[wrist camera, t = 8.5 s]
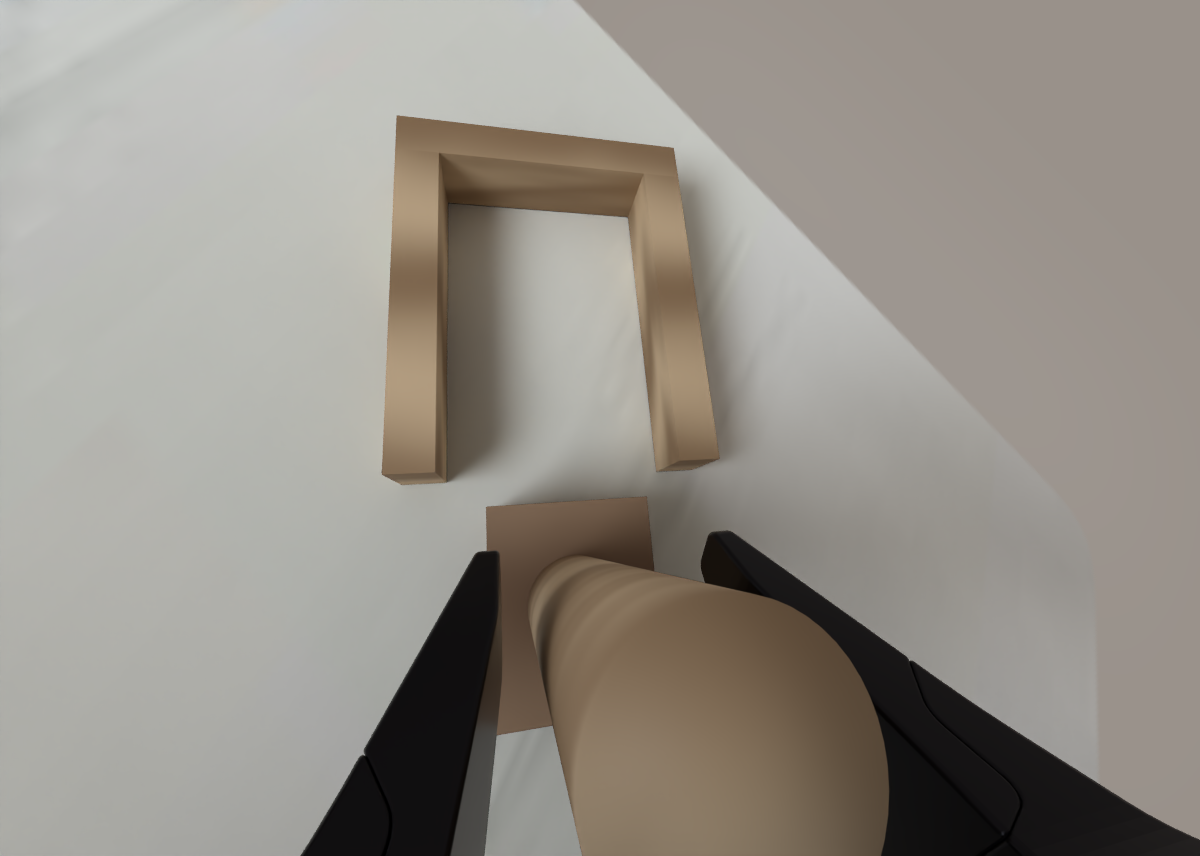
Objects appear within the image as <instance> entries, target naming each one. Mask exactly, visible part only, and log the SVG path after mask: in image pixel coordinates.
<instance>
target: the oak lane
mask: <svg viewBox="0 0 1200 856" xmlns="http://www.w3.org/2000/svg"><path fill="white" fill-rule="evenodd" d="M448 203H459V204H471V205H484V206H497V207H509V208H522V209H534V210H547V211H560V212H572V213H585V214H598V215H610V216H623V217H628V221H629V230H630V239H631V248H632V257H633V266H634V275H635V284H636V293H637V302H638V311H639V320H640V329H641V338H642V347H643V356H644V364H645V373H646V382H647V391H648V400H649V409H650V418H651V427H652V436H653V445H654V454H655V463H656V472H658V471H677V470H692V469H694V468H697V467H700V466H702V465H705V464H707V463H710V462H712V461H715V460H718V459H720V458H719V451H718V444H717V438H716V431H715V424H714V417H713V411H712V404H711V397H710V390H709V383H708V377H707V370H706V363H705V356H704V350H703V343H702V336H701V329H700V323H699V316H698V309H697V302H696V296H695V289H694V282H693V275H692V269H691V262H690V255H689V248H688V241H687V235H686V228H685V221H684V214H683V208H682V201H681V194H680V187H679V181H678V174H677V167H676V160H675V154H674V148H670V147H661V146H653V145H644V144H636V143H627V142H619V141H610V140H602V139H593V138H585V137H576V136H568V135H559V134H551V133H542V132H534V131H525V130H516V129H508V128H499V127H491V126H482V125H474V124H465V123H457V122H448V121H440V120H431V119H423V118H414V117H406V116H397V122H396V146H395V170H394V194H393V218H392V243H391V267H390V291H389V315H388V339H387V363H386V388H385V412H384V436H383V460H382V475H383V476H385V477H387V478H389V479H391V480H393V481H395V482H397V483H399V484H401V485H410V484H429V483H447V301H448Z"/></svg>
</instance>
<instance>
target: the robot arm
mask: <svg viewBox="0 0 1200 856" xmlns="http://www.w3.org/2000/svg"><path fill="white" fill-rule="evenodd" d="M701 570H702V574H703V577H704V581H705V583H707V584H712V585H716V586H720V587H725V588H729V589H734V590H738V591H742V592H747V593H751V594H756V595H759V596H763V597H767V598H771V599H774V600H776V601H779V602H781V603H784V604H786V605H788V606H791V607H792V608H794V609H796V610H797V611H799V612H801V613H802V614H804V615H806V616H807V617H809V618H810V619H811V620H812V621H814V622H815V623H816V624H817V625H819V626H820V627H821V628H822V629H823V630H824V631H825V632H826V633H827V634H828V635H829V636H830V637H831V638H832V639H833V640H834V641H835V642H836V643H837V644H838V645H839V646H840V648H841V649H842V650H843V652H844V653H845V654H846V655H847V657H848V658H849V659H850V661H851V662H852V664H853V666H854V667H855V669H856V671H857V672H858V674H859V675H860V677H861V679H862V681H863V683H864V685H865V687H866V689H867V691H868V693H869V696H870V698H871V700H872V703H873V706H874V709H875V711H876V714H877V717H878V720H879V724H880V728H881V732H882V736H883V740H884V745H885V751H886V758H887V764H888V780H889V805H888V819H887V827H886V834H885V841H884V845H883V849H882V853H881V856H1200V840H1199V839H1197V838H1194V837H1192V836H1190V835H1188V834H1186V833H1183V832H1181V831H1179V830H1177V829H1175V828H1173V827H1171V826H1169V825H1167V824H1165V823H1163V822H1161V821H1160V820H1158V819H1156V818H1154V817H1152V816H1150V815H1148V814H1146V813H1145V812H1143V811H1141V810H1140V809H1138V808H1136V807H1135V806H1133V805H1132V804H1130V803H1128V802H1126V801H1125V800H1123V799H1122V798H1120V797H1119V796H1117V795H1116V794H1114V793H1112V792H1111V791H1109V790H1108V789H1106V788H1105V787H1103V786H1101V785H1100V784H1098V783H1097V782H1095V781H1094V780H1092V779H1090V778H1089V777H1087V776H1086V775H1084V774H1083V773H1081V772H1079V771H1078V770H1076V769H1075V768H1073V767H1072V766H1070V765H1068V764H1067V763H1065V762H1064V761H1062V760H1061V759H1059V758H1057V757H1056V756H1054V755H1053V754H1051V753H1049V752H1048V751H1046V750H1045V749H1043V748H1042V747H1040V746H1038V745H1037V744H1035V743H1034V742H1032V741H1031V740H1029V739H1027V738H1026V737H1024V736H1023V735H1021V734H1020V733H1018V732H1016V731H1015V730H1013V729H1012V728H1010V727H1009V726H1007V725H1006V724H1004V723H1003V722H1001V721H1000V720H998V719H997V718H995V717H994V716H992V715H990V714H989V713H987V712H986V711H984V710H983V709H981V708H980V707H978V706H977V705H975V704H974V703H972V702H971V701H969V700H968V699H966V698H965V697H964V696H962V695H961V694H959V693H958V692H956V691H955V690H953V689H952V688H951V687H949V686H948V685H946V684H945V683H943V682H942V681H940V680H939V679H938V678H936V677H935V676H933V675H932V674H930V673H929V672H928V671H926V670H925V669H923V668H922V667H921V666H919V665H918V664H916V663H915V662H914V661H909V659H908V658H907V657H906V656H905V655H904V654H902V653H901V652H899V651H898V650H897V649H895V648H894V647H892V646H891V645H890V644H888V643H887V642H885V641H884V640H883V639H881V638H880V637H878V636H877V635H876V634H874V633H873V632H871V631H870V630H869V629H867V628H866V627H864V626H863V625H862V624H860V623H859V622H857V621H856V620H855V619H853V618H852V617H850V616H849V615H848V614H846V613H845V612H843V611H842V610H841V609H839V608H838V607H836V606H835V605H834V604H832V603H831V602H829V601H828V600H827V599H825V598H824V597H822V596H821V595H820V594H818V593H817V592H815V591H814V590H813V589H811V588H810V587H808V586H807V585H806V584H804V583H803V582H802V581H800V580H799V579H797V578H796V577H795V576H793V575H792V574H790V573H789V572H788V571H786V570H785V569H783V568H782V567H781V566H779V565H778V564H776V563H775V562H774V561H772V560H771V559H769V558H768V557H767V556H765V555H764V554H762V553H761V552H760V551H758V550H757V549H755V548H754V547H753V546H751V545H750V544H748V543H747V542H746V541H744V540H743V539H741V538H740V537H739V536H737V535H736V534H734V533H733V532H731V531H716V532H711V533H710V534H709V535H708V538H707V541H706V545H705V548H704V552H703V555H702V559H701ZM501 685H502V602H501V569H500V553H499V552H498V551H497V550H494V551H482V552H477V553H476V554H475V555H474V557H473V558H472V560H471V562H470V564H469V565H468V567H467V569H466V571H465V572H464V574H463V576H462V578H461V579H460V581H459V583H458V585H457V586H456V588H455V590H454V592H453V594H452V595H451V597H450V599H449V601H448V602H447V604H446V606H445V608H444V609H443V611H442V613H441V615H440V616H439V618H438V620H437V622H436V623H435V625H434V627H433V629H432V630H431V632H430V634H429V636H428V637H427V639H426V641H425V643H424V645H423V646H422V648H421V650H420V652H419V653H418V655H417V657H416V659H415V660H414V662H413V664H412V666H411V667H410V669H409V671H408V673H407V674H406V676H405V678H404V680H403V681H402V683H401V685H400V687H399V689H398V690H397V692H396V694H395V696H394V697H393V699H392V701H391V703H390V704H389V706H388V708H387V710H386V711H385V713H384V715H383V717H382V718H381V720H380V722H379V724H378V725H377V727H376V729H375V731H374V733H373V734H372V736H371V738H370V740H369V741H368V743H367V745H366V747H365V748H364V754H365V755H362V756H360V757H359V758H358V760H357V762H356V764H355V765H354V767H353V769H352V771H351V772H350V774H349V776H348V778H347V780H346V781H345V783H344V785H343V787H342V788H341V790H340V792H339V793H338V795H337V797H336V798H335V800H334V802H333V803H332V805H331V807H330V808H329V810H328V812H327V813H326V815H325V817H324V818H323V820H322V822H321V823H320V825H319V827H318V828H317V830H316V832H315V833H314V835H313V837H312V838H311V840H310V842H309V843H308V845H307V846H306V848H305V850H304V851H303V853H302V854H301V856H484V853H485V844H486V834H487V824H488V814H489V804H490V795H491V785H492V775H493V765H494V755H495V746H496V736H497V726H498V716H499V706H500V697H501Z"/></svg>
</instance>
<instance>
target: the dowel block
mask: <svg viewBox="0 0 1200 856" xmlns="http://www.w3.org/2000/svg"><path fill="white" fill-rule="evenodd" d="M486 529H487V551H494V550H497V551H498V552H499V553H500V569H501V602H502V685H501V697H500V706H499V716H498V726H497V735H501V734H507V733H513V732H518V731H524V730H530V729H536V728H541V727H547V726H553V729H554V733H555V738H556V742H557V746H558V751H559V755H560V760H561V764H562V768H563V773H564V777H565V782H566V786H567V790H568V795H569V799H570V804H571V808H572V812H573V817H574V821H575V826H576V830H577V834H578V839H579V843H580V847H581V852H582V856H881V853H882V849H883V845H884V841H885V834H886V827H887V819H888V805H889V780H888V764H887V758H886V751H885V745H884V740H883V736H882V732H881V728H880V724H879V720H878V717H877V714H876V711H875V709H874V706H873V703H872V700H871V698H870V696H869V693H868V691H867V689H866V687H865V685H864V683H863V681H862V679H861V677H860V675H859V674H858V672H857V671H856V669H855V667H854V666H853V664H852V662H851V661H850V659H849V658H848V657H847V655H846V654H845V653H844V652H843V650H842V649H841V648H840V646H839V645H838V644H837V643H836V642H835V641H834V640H833V639H832V638H831V637H830V636H829V635H828V634H827V633H826V632H825V631H824V630H823V629H822V628H821V627H820V626H819V625H817V624H816V623H815V622H814V621H812V620H811V619H810V618H809V617H807V616H806V615H804V614H802V613H801V612H799V611H797V610H796V609H794V608H792V607H791V606H788V605H786V604H784V603H781V602H779V601H776V600H774V599H771V598H767V597H763V596H759V595H756V594H751V593H747V592H742V591H738V590H734V589H729V588H725V587H720V586H716V585H712V584H707V583H703V582H698V581H694V580H690V579H685V578H681V577H676V576H672V575H668V574H663V573H659V572H654V563H653V553H652V544H651V534H650V524H649V514H648V505H647V497H632V498H616V499H600V500H585V501H569V502H553V503H538V504H522V505H506V506H491V507H486Z"/></svg>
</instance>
